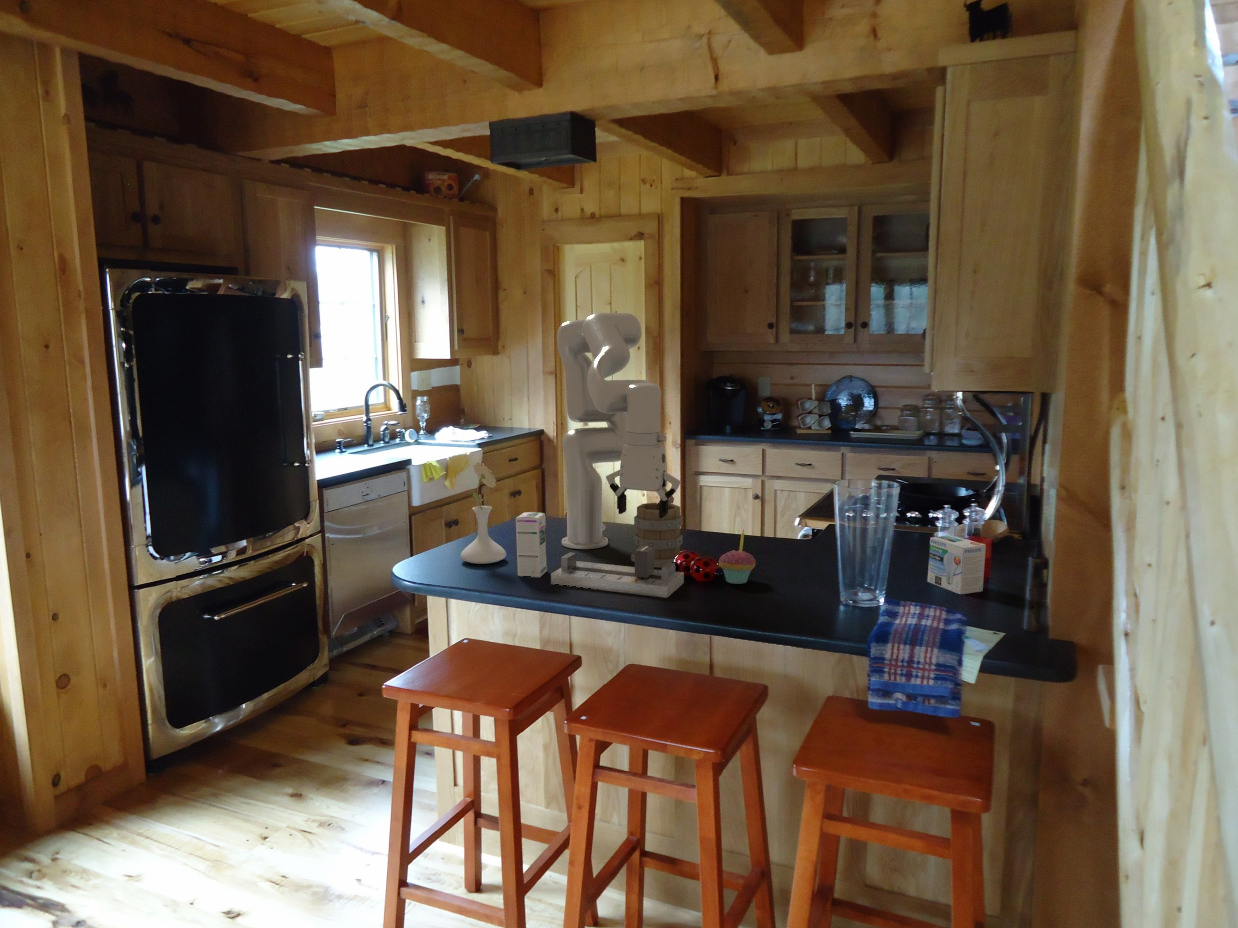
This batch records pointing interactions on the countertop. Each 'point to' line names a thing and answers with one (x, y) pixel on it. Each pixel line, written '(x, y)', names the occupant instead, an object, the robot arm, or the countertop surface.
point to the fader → (644, 561)
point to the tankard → (659, 531)
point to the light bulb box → (956, 564)
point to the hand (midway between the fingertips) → (642, 514)
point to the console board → (616, 577)
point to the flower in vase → (483, 526)
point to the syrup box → (531, 544)
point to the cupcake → (737, 564)
